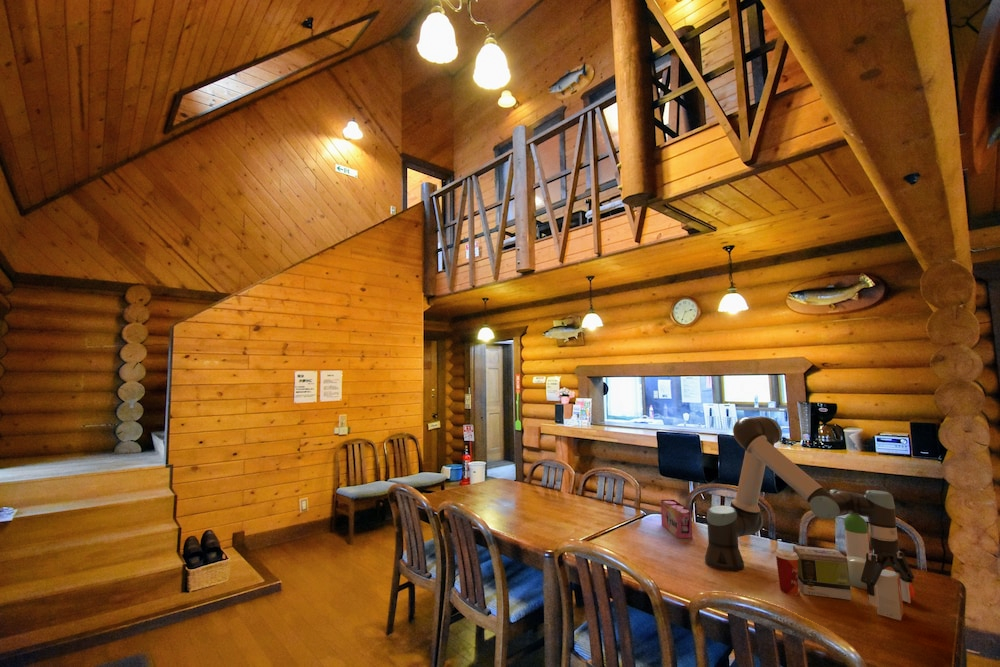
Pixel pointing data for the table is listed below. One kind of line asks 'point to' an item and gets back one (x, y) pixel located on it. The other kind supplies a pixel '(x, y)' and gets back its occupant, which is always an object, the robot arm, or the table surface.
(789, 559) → the paper cup
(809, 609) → the table surface
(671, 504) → the gum box
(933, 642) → the table surface
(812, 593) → the tea box
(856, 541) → the wine bottle
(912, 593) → the strawberry
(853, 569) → the sage mug
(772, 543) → the table surface
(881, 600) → the small box
